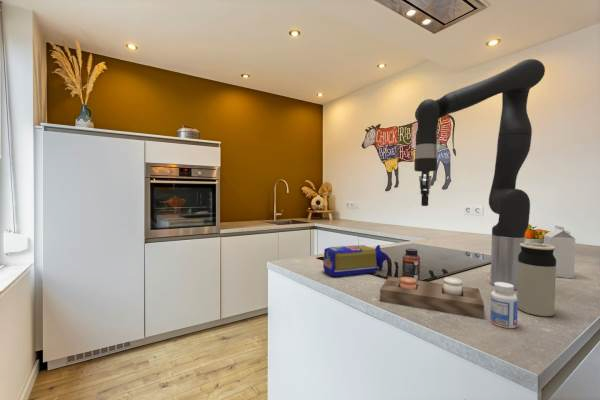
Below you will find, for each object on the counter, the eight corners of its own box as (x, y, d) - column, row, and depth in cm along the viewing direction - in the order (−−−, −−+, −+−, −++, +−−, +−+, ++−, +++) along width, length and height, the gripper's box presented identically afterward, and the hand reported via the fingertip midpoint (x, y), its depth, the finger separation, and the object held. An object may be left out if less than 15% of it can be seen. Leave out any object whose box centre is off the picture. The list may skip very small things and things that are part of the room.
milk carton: (550, 276, 111) (551, 226, 110) (542, 271, 117) (544, 224, 117) (574, 279, 108) (575, 228, 107) (565, 273, 115) (566, 225, 114)
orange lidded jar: (416, 293, 90) (417, 278, 90) (415, 298, 86) (415, 282, 86) (401, 291, 92) (401, 276, 92) (399, 296, 88) (399, 280, 88)
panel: (478, 300, 87) (478, 288, 87) (483, 318, 74) (484, 305, 74) (388, 286, 98) (388, 276, 98) (380, 300, 86) (380, 289, 86)
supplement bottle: (421, 283, 102) (422, 251, 102) (403, 282, 103) (404, 250, 103) (417, 278, 108) (418, 248, 108) (401, 277, 109) (401, 247, 109)
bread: (320, 271, 117) (320, 246, 116) (373, 266, 125) (373, 242, 125) (332, 279, 107) (332, 251, 107) (388, 272, 116) (388, 246, 115)
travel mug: (543, 319, 74) (545, 249, 73) (510, 307, 81) (512, 243, 81) (560, 314, 77) (563, 246, 77) (527, 303, 84) (529, 241, 84)
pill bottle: (506, 318, 74) (507, 280, 74) (522, 328, 69) (524, 288, 69) (485, 318, 74) (486, 280, 74) (500, 328, 69) (501, 288, 69)
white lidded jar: (461, 295, 85) (461, 278, 84) (461, 300, 81) (462, 283, 80) (443, 292, 87) (443, 276, 87) (443, 297, 83) (443, 280, 82)
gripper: (436, 155, 97) (435, 207, 98) (437, 159, 109) (436, 205, 110) (412, 156, 101) (411, 206, 101) (416, 160, 112) (415, 204, 113)
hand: (424, 205), depth 106 cm, fingers closed
